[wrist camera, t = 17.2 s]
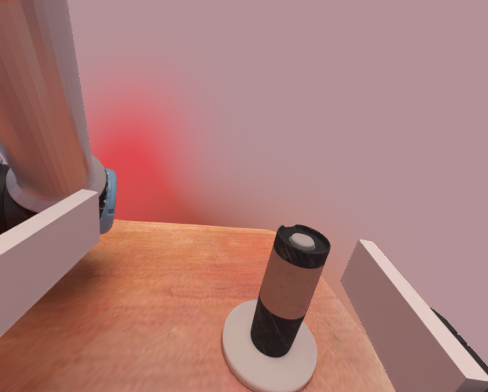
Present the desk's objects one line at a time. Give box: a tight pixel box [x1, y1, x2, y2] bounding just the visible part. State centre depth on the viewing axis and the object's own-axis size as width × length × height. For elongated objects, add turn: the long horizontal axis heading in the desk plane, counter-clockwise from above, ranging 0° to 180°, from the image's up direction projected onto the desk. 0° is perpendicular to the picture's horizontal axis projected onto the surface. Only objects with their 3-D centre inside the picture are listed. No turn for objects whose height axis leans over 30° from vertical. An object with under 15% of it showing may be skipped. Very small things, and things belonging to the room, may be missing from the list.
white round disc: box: [222, 300, 317, 392], centre depth 42 cm, size 16×16×2 cm
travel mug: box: [250, 225, 330, 358], centre depth 37 cm, size 8×8×20 cm
